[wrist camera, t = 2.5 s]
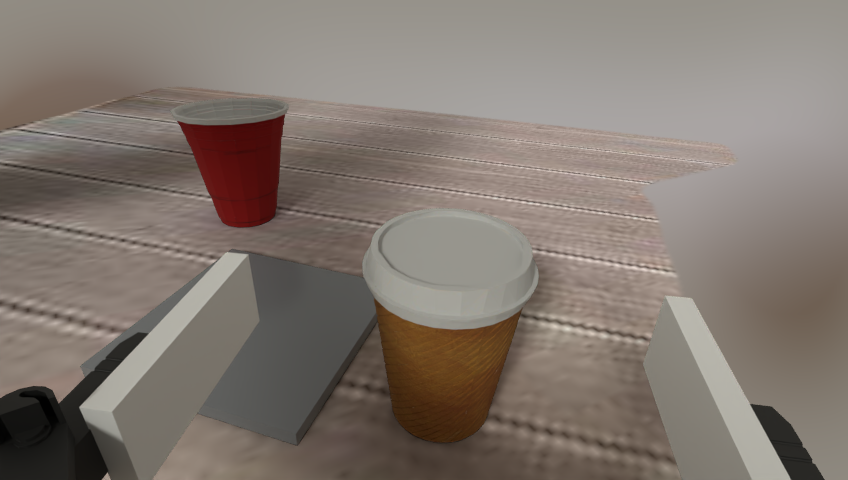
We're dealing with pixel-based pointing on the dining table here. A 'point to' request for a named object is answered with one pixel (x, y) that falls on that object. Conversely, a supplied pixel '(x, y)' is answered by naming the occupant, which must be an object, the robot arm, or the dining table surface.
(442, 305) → the disposable coffee cup
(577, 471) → the dining table surface
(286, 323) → the slate board
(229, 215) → the plastic cup
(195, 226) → the dining table surface
